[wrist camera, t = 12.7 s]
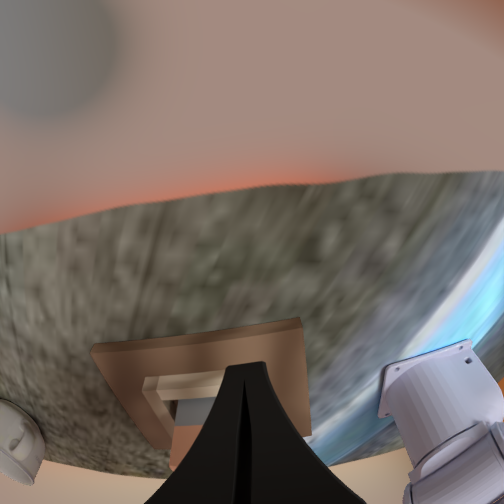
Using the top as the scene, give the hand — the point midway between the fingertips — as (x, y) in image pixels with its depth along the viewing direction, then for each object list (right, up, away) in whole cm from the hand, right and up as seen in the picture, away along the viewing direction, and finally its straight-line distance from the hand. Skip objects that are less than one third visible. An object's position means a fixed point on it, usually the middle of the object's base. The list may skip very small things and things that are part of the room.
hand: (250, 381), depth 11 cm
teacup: (-28, -15, +17) cm, 36 cm away
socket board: (-3, -7, +14) cm, 16 cm away
